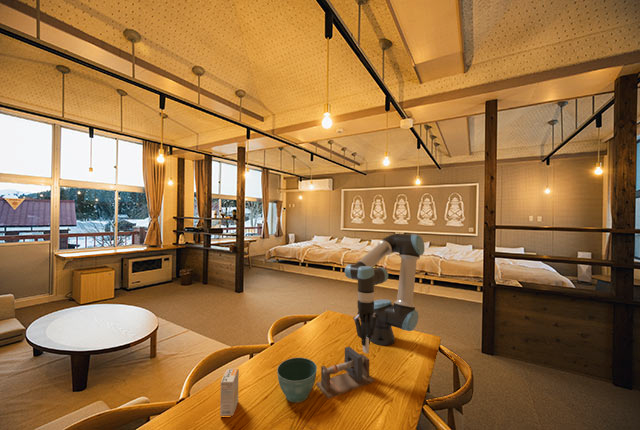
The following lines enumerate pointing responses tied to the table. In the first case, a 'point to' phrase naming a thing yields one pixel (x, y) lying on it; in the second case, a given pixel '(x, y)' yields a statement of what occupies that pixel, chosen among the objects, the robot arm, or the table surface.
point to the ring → (357, 369)
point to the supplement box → (229, 392)
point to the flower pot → (297, 378)
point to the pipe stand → (342, 378)
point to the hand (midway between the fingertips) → (365, 351)
